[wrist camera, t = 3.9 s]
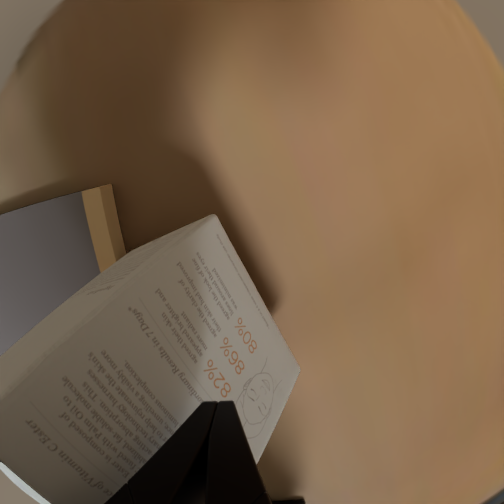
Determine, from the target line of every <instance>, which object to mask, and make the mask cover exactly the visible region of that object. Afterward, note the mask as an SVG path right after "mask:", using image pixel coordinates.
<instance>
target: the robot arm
mask: <svg viewBox="0 0 504 504" xmlns="http://www.w3.org/2000/svg"><path fill="white" fill-rule="evenodd" d="M127 483H128V484H127ZM127 483H125V484H124V485H123V486H122V487H121V488H120V489H119V490H118V491H117V492H116V493H115V494H114V495H113V496H112V497H110V498H109V499H108V500H107V501H106V502H105V503H104V504H305V501H302V500H299V501H288V502H273V503H272V502H271V500H270V497H269V495H268V493H267V490H266V488H265V485H264V483H263V480H262V477H261V475H260V472H259V470H258V467H257V464H256V462H255V459H254V456H253V454H252V451H251V448H250V446H249V443H248V440H247V437H246V434H245V432H244V429H243V426H242V423H241V420H240V417H239V415H238V412H237V409H236V406H235V403H234V401H232V400H226V401H219V402H217V401H203V402H202V403H201V404H200V405H199V406H198V407H197V408H196V409H195V411H194V412H193V413H192V414H191V415H190V416H189V417H188V418H187V419H186V420H185V422H184V423H183V424H182V425H181V426H180V427H179V428H178V429H177V430H176V431H175V432H174V433H173V435H172V436H171V437H170V438H169V439H168V440H167V441H166V442H165V443H164V444H163V445H162V446H161V447H160V448H159V449H158V450H157V452H156V453H155V454H154V455H153V456H152V457H151V458H150V459H149V460H148V461H147V462H146V463H145V464H144V465H143V466H142V467H141V468H140V469H139V470H138V471H137V472H136V473H135V474H134V475H133V476H132V477H131V478H130V479H129V480H128V481H127Z"/></svg>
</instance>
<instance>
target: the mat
mask: <svg viewBox="0 0 504 504" xmlns="http://www.w3.org/2000/svg"><path fill="white" fill-rule="evenodd" d="M125 255H126V250H125V246H124V242H123V237H122V233H121V229H120V224H119V219H118V215H117V210H116V205H115V200H114V195H113V189H112V184H108V185H104V186H100V187H96V188H92V189H88V190H84V191H80V192H76V193H72V194H68V195H65V196H61V197H57V198H54V199H50V200H47V201H43V202H40V203H36V204H33V205H30V206H26V207H23V208H20V209H17V210H13V211H10V212H7V213H4V214H1V215H0V356H1V355H2V354H4V353H5V352H6V351H7V350H8V349H9V348H10V347H12V346H13V345H14V344H15V343H16V342H17V341H18V340H20V339H21V338H22V337H23V336H24V335H25V334H26V333H28V332H29V331H30V330H31V329H32V328H33V327H35V326H36V325H37V324H38V323H39V322H41V321H42V320H43V319H44V318H45V317H46V316H48V315H49V314H50V313H51V312H53V311H54V310H55V309H56V308H57V307H59V306H60V305H61V304H62V303H64V302H65V301H66V300H67V299H69V298H70V297H71V296H72V295H74V294H75V293H76V292H77V291H79V290H80V289H81V288H82V287H84V286H85V285H86V284H88V283H89V282H90V281H91V280H93V279H94V278H95V277H97V276H98V275H99V274H100V273H102V272H103V271H104V270H106V269H107V268H108V267H110V266H111V265H112V264H114V263H115V262H116V261H118V260H119V259H121V258H122V257H123V256H125Z"/></svg>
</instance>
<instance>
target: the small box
mask: <svg viewBox="0 0 504 504" xmlns="http://www.w3.org/2000/svg"><path fill="white" fill-rule="evenodd" d="M299 373H300V366H299V364H298V363H297V361H296V359H295V358H294V356H293V354H292V352H291V351H290V349H289V347H288V345H287V343H286V342H285V340H284V338H283V336H282V335H281V333H280V331H279V329H278V327H277V325H276V323H275V322H274V320H273V318H272V316H271V314H270V313H269V311H268V309H267V307H266V305H265V304H264V302H263V300H262V298H261V296H260V294H259V293H258V291H257V289H256V287H255V285H254V283H253V282H252V280H251V278H250V276H249V274H248V272H247V271H246V269H245V267H244V265H243V263H242V262H241V260H240V258H239V256H238V255H237V253H236V251H235V249H234V247H233V245H232V243H231V242H230V240H229V238H228V236H227V234H226V232H225V230H224V229H223V227H222V225H221V223H220V221H219V219H218V217H217V216H216V215H215V214H211V215H209V216H207V217H204V218H202V219H200V220H198V221H196V222H193V223H191V224H189V225H186V226H184V227H182V228H180V229H177V230H175V231H173V232H171V233H169V234H166V235H164V236H162V237H160V238H157V239H155V240H153V241H151V242H149V243H147V244H144V245H142V246H140V247H138V248H136V249H134V250H132V251H130V252H129V253H127V254H126V255H125V256H123V257H122V258H121V259H119V260H118V261H116V262H115V263H114V264H112V265H111V266H110V267H108V268H107V269H106V270H104V271H103V272H102V273H100V274H99V275H98V276H97V277H95V278H94V279H93V280H91V281H90V282H89V283H88V284H86V285H85V286H84V287H82V288H81V289H80V290H79V291H77V292H76V293H75V294H74V295H72V296H71V297H70V298H69V299H67V300H66V301H65V302H64V303H62V304H61V305H60V306H59V307H57V308H56V309H55V310H54V311H53V312H51V313H50V314H49V315H48V316H46V317H45V318H44V319H43V320H42V321H41V322H39V323H38V324H37V325H36V326H35V327H33V328H32V329H31V330H30V331H29V332H28V333H26V334H25V335H24V336H23V337H22V338H21V339H20V340H18V341H17V342H16V343H15V344H14V345H13V346H12V347H10V348H9V349H8V350H7V351H6V352H5V353H4V354H2V355H1V356H0V462H2V463H3V464H5V465H6V466H7V467H8V468H9V469H10V470H11V471H12V472H14V473H15V474H16V475H17V476H18V477H19V478H21V479H22V480H23V481H24V482H25V483H26V484H28V485H29V486H30V487H31V488H32V489H34V490H35V491H36V492H37V493H38V494H40V495H41V496H42V497H43V498H45V499H46V500H47V501H48V502H50V503H51V504H104V503H105V502H106V501H107V500H108V499H109V498H110V497H112V496H113V495H114V494H115V493H116V492H117V491H118V490H119V489H120V488H121V487H122V486H123V485H124V484H125V483H127V481H128V480H129V479H130V478H131V477H132V476H133V475H134V474H135V473H136V472H137V471H138V470H139V469H140V468H141V467H142V466H143V465H144V464H145V463H146V462H147V461H148V460H149V459H150V458H151V457H152V456H153V455H154V454H155V453H156V452H157V450H158V449H159V448H160V447H161V446H162V445H163V444H164V443H165V442H166V441H167V440H168V439H169V438H170V437H171V436H172V435H173V433H174V432H175V431H176V430H177V429H178V428H179V427H180V426H181V425H182V424H183V423H184V422H185V420H186V419H187V418H188V417H189V416H190V415H191V414H192V413H193V412H194V411H195V409H196V408H197V407H198V406H199V405H200V404H201V403H202V402H203V401H217V402H219V401H226V400H232V401H234V403H235V406H236V409H237V412H238V415H239V417H240V420H241V423H242V426H243V429H244V432H245V434H246V437H247V440H248V443H249V446H250V448H251V451H252V454H253V456H254V459H255V462H256V464H257V463H258V461H259V459H260V457H261V455H262V453H263V451H264V449H265V447H266V445H267V443H268V441H269V439H270V437H271V434H272V432H273V430H274V428H275V426H276V424H277V422H278V420H279V418H280V416H281V413H282V411H283V409H284V407H285V404H286V402H287V400H288V398H289V396H290V393H291V391H292V389H293V387H294V384H295V382H296V380H297V377H298V375H299ZM127 484H128V483H127Z"/></svg>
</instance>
